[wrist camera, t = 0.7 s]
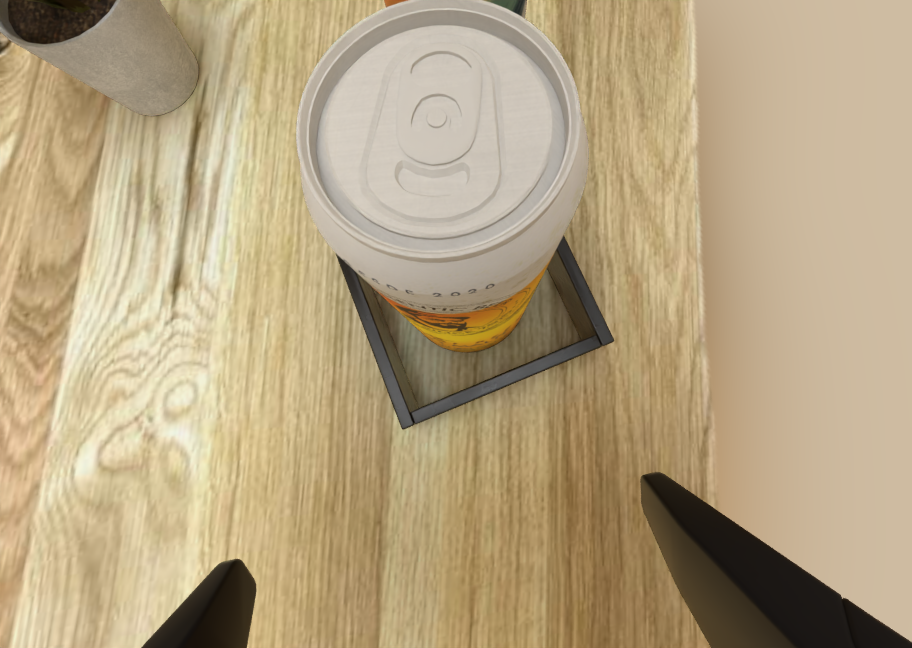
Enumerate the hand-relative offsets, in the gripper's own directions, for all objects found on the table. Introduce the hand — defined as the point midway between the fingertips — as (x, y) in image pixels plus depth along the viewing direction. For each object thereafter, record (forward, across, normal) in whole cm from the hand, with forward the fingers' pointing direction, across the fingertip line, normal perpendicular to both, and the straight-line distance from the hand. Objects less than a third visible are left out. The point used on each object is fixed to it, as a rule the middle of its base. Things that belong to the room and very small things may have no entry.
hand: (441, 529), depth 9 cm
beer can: (+15, -2, +1) cm, 15 cm away
